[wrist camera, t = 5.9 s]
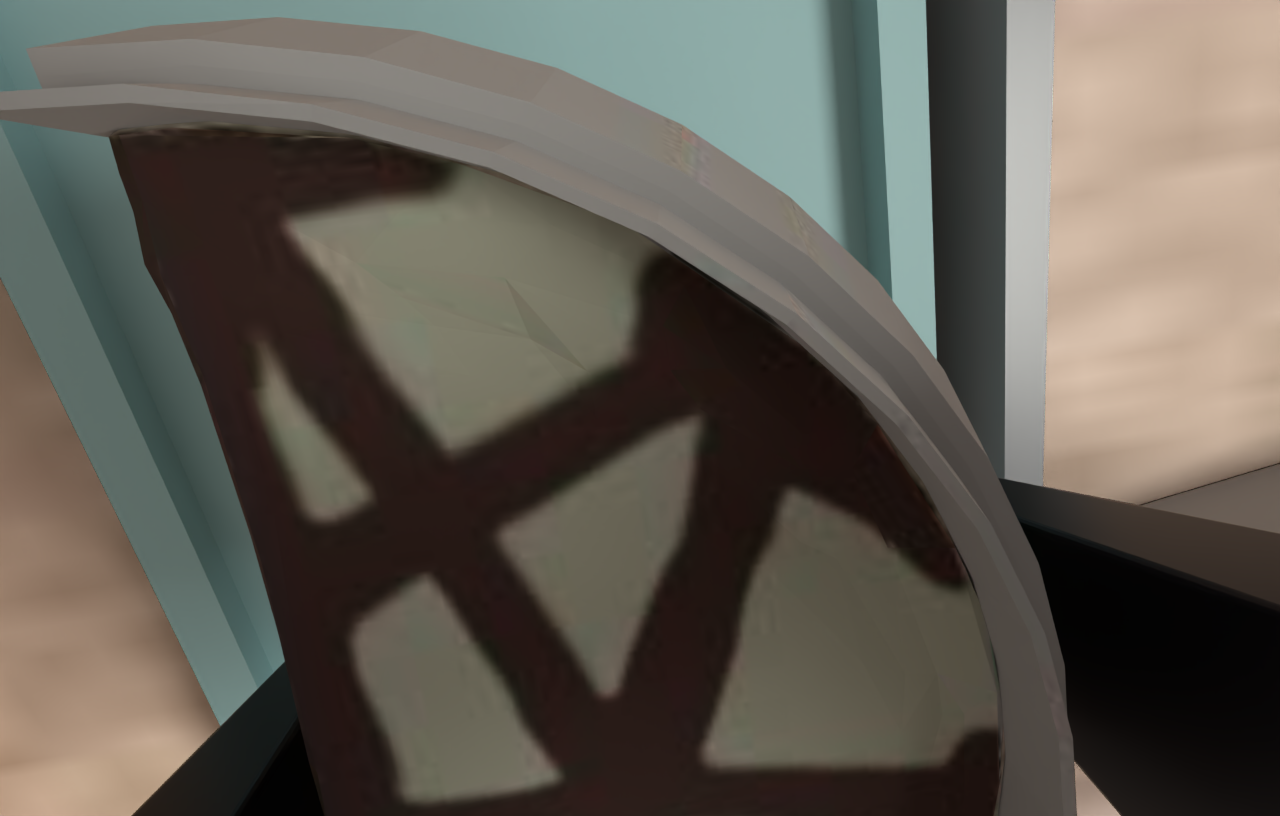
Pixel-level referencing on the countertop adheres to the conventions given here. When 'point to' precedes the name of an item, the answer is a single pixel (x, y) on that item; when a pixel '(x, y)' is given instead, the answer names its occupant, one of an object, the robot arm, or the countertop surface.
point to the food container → (569, 443)
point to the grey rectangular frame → (1013, 240)
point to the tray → (481, 16)
